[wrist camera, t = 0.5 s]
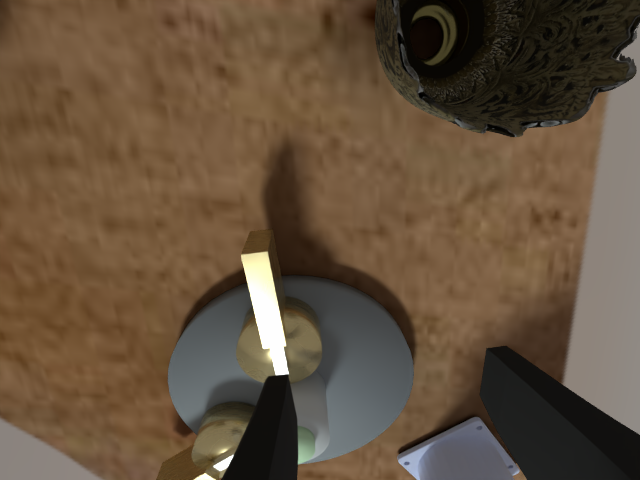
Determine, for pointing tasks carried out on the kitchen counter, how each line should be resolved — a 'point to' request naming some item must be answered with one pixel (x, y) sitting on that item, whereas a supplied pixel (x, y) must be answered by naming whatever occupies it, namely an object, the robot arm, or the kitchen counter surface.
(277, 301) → the front knob
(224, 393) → the plate
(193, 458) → the back knob
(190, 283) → the kitchen counter surface
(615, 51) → the cup
